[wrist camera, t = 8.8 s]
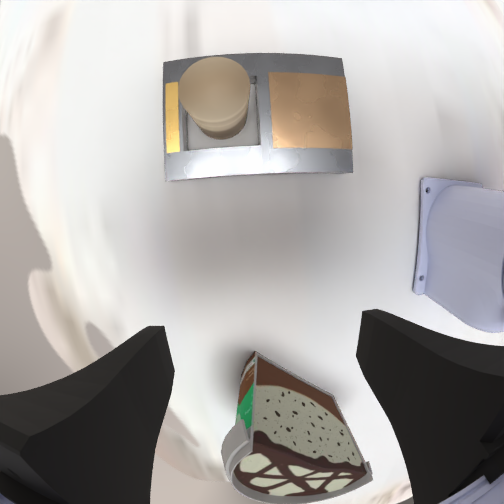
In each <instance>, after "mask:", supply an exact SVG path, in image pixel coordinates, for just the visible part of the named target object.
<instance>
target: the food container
mask: <svg viewBox="0 0 504 504" xmlns="http://www.w3.org/2000/svg"><path fill="white" fill-rule="evenodd" d="M221 454H222V459H223V463H224V467H225V471H226V475H227V477H228V479H229V480H230V482H231V484H232V486H233V487H234V489H235V490H236V491H238V492H239V493H240V494H242V495H243V496H245V497H247V498H250V499H252V500H255V501H259V502H263V503H270V504H305V503H312V502H318V501H322V500H326V499H330V498H334V497H337V496H340V495H343V494H346V493H348V492H351V491H353V490H355V489H357V488H359V487H361V486H363V485H365V484H367V483H369V482H371V481H372V480H373V478H372V470H371V467H370V463H369V461H368V462H365V460H364V458H363V456H362V454H361V452H360V450H359V448H358V446H357V444H356V441H355V439H354V437H353V435H352V433H351V431H350V429H349V427H348V425H347V423H346V421H345V419H344V417H343V415H342V413H341V410H340V408H339V406H338V404H337V402H336V400H335V398H334V396H333V395H332V394H330V393H328V392H326V391H324V390H322V389H320V388H319V387H317V386H315V385H313V384H311V383H309V382H308V381H306V380H304V379H302V378H300V377H299V376H297V375H295V374H293V373H291V372H290V371H288V370H286V369H284V368H283V367H281V366H279V365H278V364H276V363H274V362H272V361H271V360H269V359H267V358H266V357H264V356H262V355H261V354H259V353H258V352H256V351H255V352H254V353H253V355H252V356H251V357H250V358H249V359H248V360H247V362H246V365H245V367H244V370H243V372H242V375H241V383H240V391H239V399H238V407H237V415H236V423H235V426H234V427H232V429H231V430H230V431H229V433H228V434H227V435H226V437H225V439H224V441H223V444H222V450H221Z"/></svg>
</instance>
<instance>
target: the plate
mask: <svg viewBox="0 0 504 504" xmlns="http://www.w3.org/2000/svg"><path fill="white" fill-rule="evenodd" d="M209 57H224V58H228V59H231V60H233V61H235V62H237V63H239V64H240V65H241V66H242V67H243V68H244V69H245V71H246V72H247V74H248V76H249V80H250V84H253V83H255V85H256V100H257V117H258V134H259V145H256V146H237V147H222V148H210V149H199V150H189V151H188V145H187V118H186V109H185V108H184V107H183V105H182V104H181V102H180V99H179V95H178V85H179V82H180V79H181V77H182V75H183V74H184V72H185V71H186V70H187V69H188V68H189V67H190V66H191V65H192V64H194V63H195V62H197V61H199V60H202V59H205V58H209ZM163 139H164V162H165V179H166V181H176V180H186V179H196V178H208V177H220V176H235V175H253V174H277V173H353V160H352V134H351V122H350V112H349V102H348V94H347V86H346V78H345V75H344V69H343V62H342V58H335V57H326V56H316V55H304V54H284V53H246V54H226V55H214V56H204V57H195V58H187V59H181V60H174V61H168V62H163Z"/></svg>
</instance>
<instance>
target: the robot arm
mask: <svg viewBox="0 0 504 504" xmlns="http://www.w3.org/2000/svg"><path fill="white" fill-rule="evenodd" d="M426 188H427V189H428V191H427V193H426ZM421 275H422V277H421V279H419V278H420V276H421ZM413 291H414V293H415V294H417V295H422V294H425V295H426V296H428V297H429V298H431V299H432V300H433V301H435V302H436V303H438V304H439V305H440V306H442V307H443V308H445V309H446V310H447V311H449V312H450V313H451V314H453V315H454V316H456V317H457V318H458V319H460V320H461V321H462V322H464V323H465V324H467V325H469V326H471V327H473V328H475V329H478V330H481V331H485V332H491V333H497V332H504V191H499V190H492V189H484V188H483V186H482V184H480V183H473V182H465V181H457V180H449V179H439V178H429V177H424V178H423V179H422V180H421V212H420V232H419V246H418V257H417V266H416V274H415V281H414V288H413ZM356 357H357V360H358V362H359V365H360V368H361V370H362V373H363V375H364V377H365V379H366V381H367V382H368V384H369V386H370V388H371V389H372V391H373V393H374V394H375V396H376V398H377V400H378V401H379V403H380V405H381V406H382V408H383V410H384V412H385V413H386V415H387V417H388V419H389V421H390V423H391V425H392V427H393V430H394V432H395V435H396V437H397V440H398V443H399V445H400V448H401V451H402V454H403V457H404V460H405V464H406V467H407V471H408V475H409V479H410V483H411V488H412V494H413V499H414V504H504V346H494V345H487V344H480V343H474V342H469V341H465V340H461V339H457V338H453V337H450V336H447V335H444V334H441V333H438V332H435V331H432V330H430V329H427V328H424V327H422V326H419V325H417V324H415V323H412V322H410V321H407V320H405V319H403V318H400V317H398V316H395V315H393V314H390V313H388V312H385V311H382V310H379V309H373V310H366V311H362V318H361V326H360V333H359V340H358V346H357V352H356ZM174 372H175V370H174V366H173V362H172V358H171V354H170V349H169V345H168V341H167V337H166V332H165V327H164V326H148V327H146V328H144V329H142V330H141V331H139V332H138V333H137V334H135V335H134V336H132V337H131V338H129V339H128V340H127V341H125V342H124V343H122V344H121V345H119V346H118V347H117V348H115V349H114V350H112V351H111V352H109V353H108V354H106V355H104V356H103V357H101V358H100V359H98V360H97V361H95V362H93V363H92V364H90V365H88V366H87V367H85V368H83V369H81V370H79V371H77V372H75V373H73V374H71V375H69V376H67V377H65V378H63V379H60V380H57V381H54V382H52V383H50V384H46V385H44V386H41V387H38V388H34V389H31V390H27V391H23V392H18V393H13V394H8V395H0V504H150V491H151V490H150V489H151V478H152V469H153V461H154V454H155V448H156V444H157V439H158V436H159V433H160V429H161V426H162V422H163V419H164V416H165V413H166V409H167V406H168V403H169V399H170V396H171V392H172V386H173V379H174Z"/></svg>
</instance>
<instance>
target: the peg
mask: <svg viewBox="0 0 504 504" xmlns="http://www.w3.org/2000/svg"><path fill="white" fill-rule="evenodd" d="M249 93H250V80H249V76H248V74H247V72H246V71H245V69H244V68H243V67H242V66H241V65H240V64H239V63H237V62H235V61H233V60H231V59H228V58H224V57H209V58H205V59H202V60H199V61H197V62H195V63H194V64H192V65H191V66H190V67H189V68H188V69H187V70H186V71H185V72H184V74H183V75H182V77H181V79H180V82H179V85H178V95H179V99H180V102H181V104H182V105H183V107H184V108H185V109H186V111H187V112H188V113H189V115H190V116H191V117H192V118H193V120H194V121H195V122H196V124H197V125H198V126H199V128H200V129H201V130H202V132H203V133H204V134H206V135H207V136H209V137H211V138H214V139H228V138H231V137H233V136H235V135H236V134H238V133H239V132H240V131H241V130H242V128H243V127H244V125H245V122H246V118H247V110H248V101H249Z"/></svg>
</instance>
